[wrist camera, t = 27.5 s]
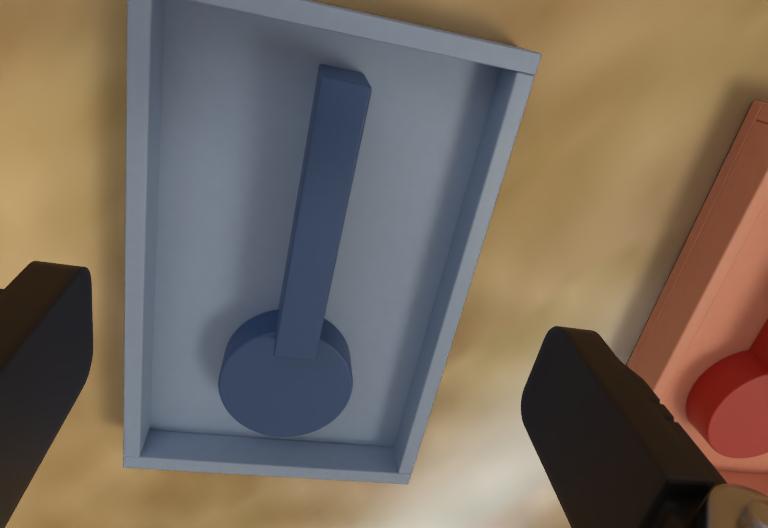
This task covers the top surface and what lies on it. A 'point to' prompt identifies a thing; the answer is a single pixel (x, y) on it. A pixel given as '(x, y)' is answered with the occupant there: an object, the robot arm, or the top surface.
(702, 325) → the red tray
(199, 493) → the top surface
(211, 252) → the blue tray
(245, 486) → the top surface
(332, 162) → the blue spoon
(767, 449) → the red spoon
